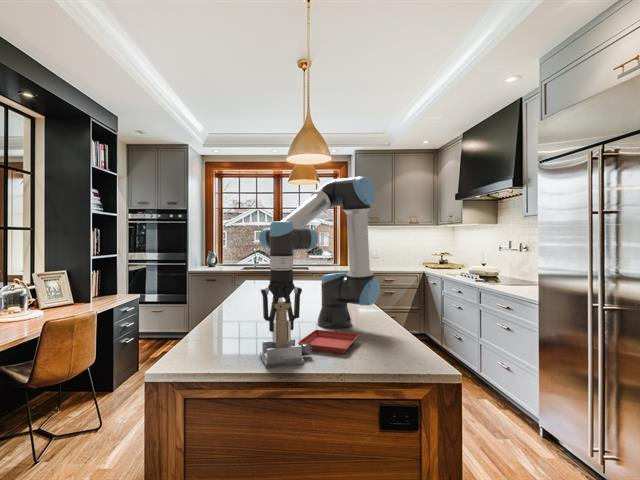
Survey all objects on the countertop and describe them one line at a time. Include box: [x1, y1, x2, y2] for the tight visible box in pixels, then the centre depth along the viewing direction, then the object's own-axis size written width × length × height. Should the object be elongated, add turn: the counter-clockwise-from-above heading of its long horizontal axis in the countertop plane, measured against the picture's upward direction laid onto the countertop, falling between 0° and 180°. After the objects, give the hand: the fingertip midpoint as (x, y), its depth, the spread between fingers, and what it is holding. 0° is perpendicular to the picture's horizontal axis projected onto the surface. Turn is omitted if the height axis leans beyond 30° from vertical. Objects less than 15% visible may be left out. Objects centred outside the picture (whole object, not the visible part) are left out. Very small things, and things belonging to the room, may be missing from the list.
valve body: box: [259, 338, 313, 369], centre depth 121 cm, size 16×12×5 cm
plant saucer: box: [297, 329, 360, 355], centre depth 135 cm, size 18×18×3 cm
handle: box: [271, 300, 292, 348], centre depth 120 cm, size 5×6×15 cm
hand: (281, 340), depth 120 cm, fingers closed on handle, 4 cm apart
